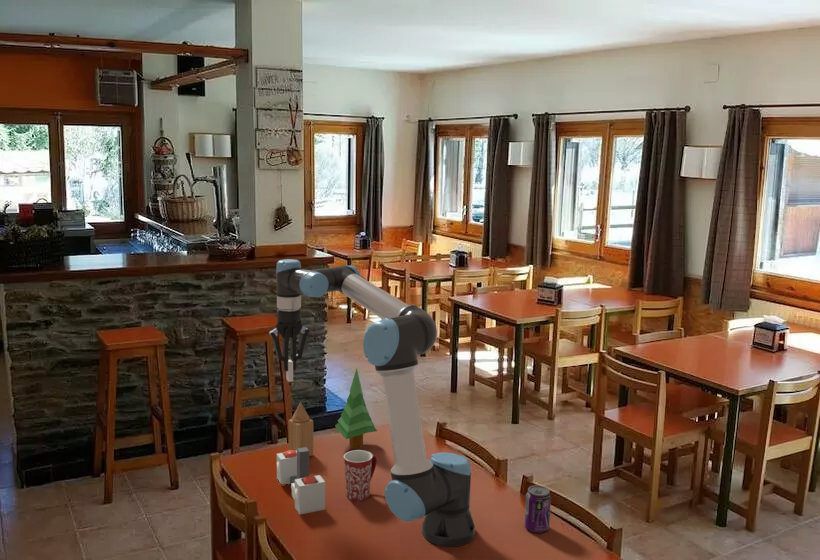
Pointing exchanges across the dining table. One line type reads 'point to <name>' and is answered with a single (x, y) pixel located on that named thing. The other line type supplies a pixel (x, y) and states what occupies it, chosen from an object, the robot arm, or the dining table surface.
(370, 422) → the decorative tree
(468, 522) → the robot arm
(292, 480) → the rail
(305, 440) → the decorative item
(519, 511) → the dining table surface
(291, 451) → the red push button
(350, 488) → the mug
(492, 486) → the dining table surface
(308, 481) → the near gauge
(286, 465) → the far cabinet
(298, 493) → the near cabinet
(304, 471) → the dark grey tall block
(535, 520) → the beverage can
